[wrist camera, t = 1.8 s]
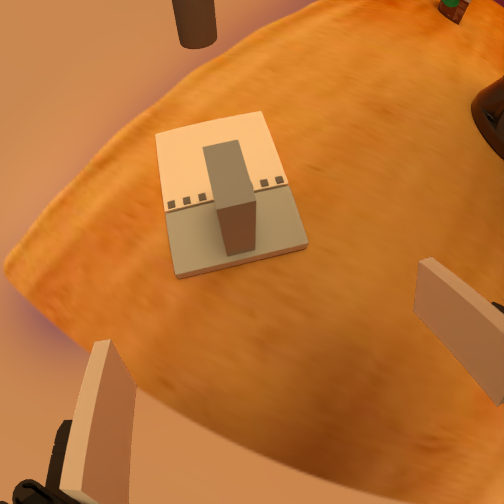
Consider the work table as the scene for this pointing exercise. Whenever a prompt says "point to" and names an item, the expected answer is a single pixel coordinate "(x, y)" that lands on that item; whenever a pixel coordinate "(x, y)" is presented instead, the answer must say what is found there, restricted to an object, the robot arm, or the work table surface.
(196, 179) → the notepad
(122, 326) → the work table surface
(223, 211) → the stub
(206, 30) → the bottle
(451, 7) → the food container
